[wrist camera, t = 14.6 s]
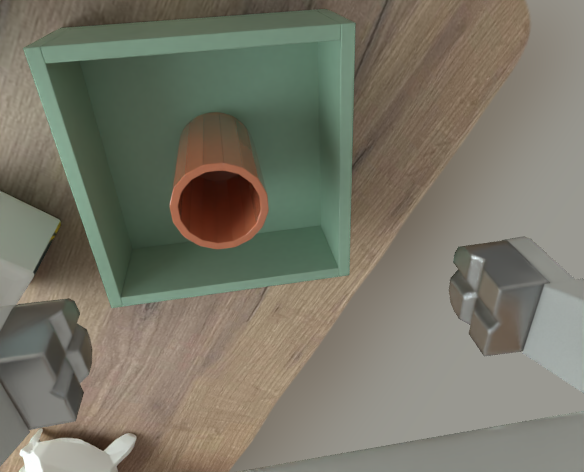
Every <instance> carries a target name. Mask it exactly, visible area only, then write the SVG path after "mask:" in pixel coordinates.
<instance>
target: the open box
mask: <svg viewBox="0 0 584 472" xmlns="http://www.w3.org/2000/svg"><path fill="white" fill-rule="evenodd" d="M355 25H356V23H355V22H353V21H351V20H348V19H346V18H344V17H342V16H340V15H338V14H336V13H334V12H332V11H330V10H328V9H317V10H303V11H289V12H275V13H261V14H248V15H234V16H220V17H206V18H192V19H178V20H164V21H150V22H137V23H123V24H109V25H95V26H81V27H67V28H60V29H58V30H56V31H54V32H52V33H50V34H48V35H47V36H45V37H43V38H41V39H39V40H37V41H35V42H34V43H32V44H30V45H28V46H26V47H24V48H23V50H24V52H25V55H26V58H27V61H28V64H29V67H30V70H31V73H32V76H33V79H34V82H35V85H36V88H37V91H38V94H39V97H40V99H41V102H42V105H43V108H44V111H45V114H46V117H47V120H48V123H49V126H50V129H51V132H52V135H53V138H54V141H55V144H56V146H57V149H58V152H59V155H60V158H61V161H62V164H63V167H64V170H65V173H66V176H67V179H68V182H69V185H70V188H71V191H72V193H73V196H74V199H75V202H76V205H77V208H78V211H79V214H80V217H81V220H82V223H83V226H84V229H85V232H86V235H87V238H88V240H89V243H90V246H91V249H92V252H93V255H94V258H95V261H96V264H97V267H98V270H99V273H100V276H101V279H102V282H103V285H104V287H105V290H106V293H107V296H108V299H109V302H110V305H111V308H115V307H123V306H130V305H137V304H144V303H152V302H159V301H166V300H173V299H181V298H188V297H195V296H202V295H210V294H217V293H224V292H231V291H238V290H246V289H253V288H260V287H267V286H275V285H282V284H289V283H296V282H304V281H311V280H318V279H325V278H332V277H338V276H339V277H340V276H347V275H349V267H350V227H351V187H352V146H353V106H354V65H355ZM210 112H220V113H225V114H229V115H231V116H233V117H235V118H237V119H238V120H240V121H241V122H242V123H243V124H244V125H245V126H246V127H247V129H248V130H249V132H250V134H251V136H252V139H253V141H254V144H255V148H256V152H257V156H258V160H259V164H260V168H261V172H262V175H263V179H264V183H265V187H266V191H267V195H268V207H269V212H268V214H267V217H266V220H265V223H264V225H263V227H262V228H261V229H260V230H259V231H258V233H257V234H256V235H255V236H254V237H253V238H252V239H251V240H249V241H247V242H245V243H243V244H241V245H239V246H237V247H233V248H225V249H212V248H207V247H202V246H199V245H197V244H195V243H193V242H192V241H190V240H188V239H187V238H185V237H184V236H183V235H182V234H181V232H180V231H179V230H178V228H177V227H176V226H175V224H174V223H173V221H172V216H171V212H170V207H169V204H170V196H171V189H172V182H173V175H174V168H175V160H176V153H177V147H178V143H179V138H180V135H181V132H182V130H183V129H184V127H185V126H186V125H187V124H188V123H189V122H190V121H191V120H192V119H194V118H195V117H197V116H199V115H202V114H205V113H210Z"/></svg>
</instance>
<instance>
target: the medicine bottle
mask: <svg viewBox="0 0 584 472" xmlns="http://www.w3.org/2000/svg"><path fill="white" fill-rule="evenodd" d="M60 226H61V221H60V220H59V219H57V218H55V217H53V216H51V215H49V214H47V213H45V212H43V211H41V210H39V209H37V208H35V207H33V206H30V205H28V204H26V203H24V202H22V201H20V200H18V199H16V198H14V197H12V196H10V195H8V194H6V193H4V192H2V191H0V307H1V306H9V305H16V304H17V303H18V301H19V300H20V298H21V296H22V295H23V293H24V292H25V290H26V288H27V287H28V285H29V284H30V282H31V280H32V279H33V277H34V275H35V274H36V272H37V270H38V268H39V266H40V264H41V262H42V260H43V258H44V256H45V254H46V253H47V251H48V249H49V247H50V245H51V243H52V241H53V239H54V237H55V235H56V233H57V231H58V230H59V228H60Z"/></svg>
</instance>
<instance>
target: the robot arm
mask: <svg viewBox="0 0 584 472" xmlns="http://www.w3.org/2000/svg"><path fill="white" fill-rule="evenodd" d="M453 262H454V264H455V265H456V267H457V268H458V270H457V272H456V273H455V274H454V275H453V276H452V277H451V279H450V286H449V295H450V302H451V305H452V307H453V310H454V312H455V313H456V315H457V316H458V318H459V319H460V320H462V321H464V322H466V323H468V324H469V325H470V330H469V335H470V336H471V338H472V339H473V341H474V342H475V343H476V345H477V347H478V348H479V349H480V351H481V352H482V354H483V355H484V356H491V355H498V354H505V353H513V352H521V351H523V354H525V355H526V356H528V357H529V358H531V359H532V360H534V361H535V362H537V363H538V364H540V365H541V366H543V367H544V368H546V369H547V370H549V371H550V372H552V373H554V374H555V375H557V376H558V377H560V378H561V379H563V380H564V381H566V382H567V383H569V384H570V385H572V386H573V387H575V388H576V389H578V390H580V391H581V392H582V393H584V279H576V280H575V279H574V278H573V277H572V276H571V275H570V274H569V273H567V271H566V270H564V269H563V268H562V267H561V266H560V265H559V264H558V263H557V262H556V261H555V260H553V259H552V258H551V257H550V256H549V255H548V254H547V253H546V252H545V251H544V250H543V249H541V248H540V247H539V246H538V245H537V244H536V243H535V242H534V241H533V240H532V239H530V238H527V237H518V238H512V239H505V240H502V241H497V242H490V243H483V244H475V245H468V246H462V247H458V248H457V250H456V252H455V255H454V261H453ZM79 315H80V312H79V310H78V308H77V306H76V304H75V301H73V300H71V299H60V300H51V301H43V302H34V303H25V304H18V305H9V306H1V307H0V466H1V465H2V464H3V463H4V461H5V460H6V459H7V458H8V457H9V456H10V454H11V453H12V452H13V451H14V450H15V449H16V448H17V446H18V445H19V444H20V443H21V442H22V441H23V440H24V438H25V437H26V436H27V435H28V434H29V433H30V431H29V430H31V429H37V428H42V427H47V426H53V425H58V424H64V423H69V422H74V421H76V418H77V415H78V411H79V408H80V404H81V401H82V397H83V394H84V392H83V390H82V388H81V385H80V383H81V382H82V381H83V380H84V379H85V378H86V377H87V376H88V375H89V372H90V368H91V364H92V346H91V341H90V337H89V334H88V332H87V329H85V328H83V327H82V326H80V325H79V324H77V321H78V318H79ZM238 472H584V411H581V412H576V413H569V414H564V415H558V416H553V417H546V418H541V419H535V420H530V421H524V422H518V423H512V424H506V425H501V426H495V427H490V428H484V429H478V430H472V431H467V432H461V433H455V434H449V435H444V436H438V437H433V438H427V439H421V440H415V441H410V442H404V443H399V444H393V445H387V446H381V447H376V448H370V449H365V450H358V451H353V452H347V453H341V454H335V455H330V456H324V457H318V458H313V459H307V460H302V461H295V462H290V463H284V464H278V465H273V466H267V467H261V468H255V469H249V470H244V471H238Z"/></svg>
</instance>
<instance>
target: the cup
mask: <svg viewBox="0 0 584 472" xmlns="http://www.w3.org/2000/svg"><path fill="white" fill-rule="evenodd" d="M169 207H170V212H171V216H172V221H173V223H174V224H175V226H176V227H177V228H178V230H179V231H180V232H181V234H182V235H183V236H184V237H185V238H187V239H188V240H190V241H192V242H193V243H195V244H197V245H199V246H202V247H207V248H212V249H225V248H233V247H237V246H239V245H241V244H243V243H245V242H247V241H249V240H251V239H252V238H253V237H254V236H255V235H256V234H257V233H258V231H259V230H260V229H261V228H262V227H263V225H264V223H265V220H266V217H267V214H268V212H269V207H268V195H267V191H266V187H265V183H264V179H263V175H262V172H261V168H260V164H259V160H258V156H257V152H256V148H255V144H254V141H253V139H252V136H251V134H250V132H249V130H248V129H247V127H246V126H245V125H244V124H243V123H242V122H241V121H240V120H238V119H237V118H235V117H233V116H231V115H229V114H225V113H220V112H210V113H205V114H202V115H199V116H197V117H195V118H194V119H192V120H191V121H190V122H189V123H188V124H187V125H186V126H185V127H184V129H183V130H182V132H181V135H180V138H179V143H178V147H177V153H176V160H175V168H174V175H173V182H172V189H171V196H170V204H169Z"/></svg>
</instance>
